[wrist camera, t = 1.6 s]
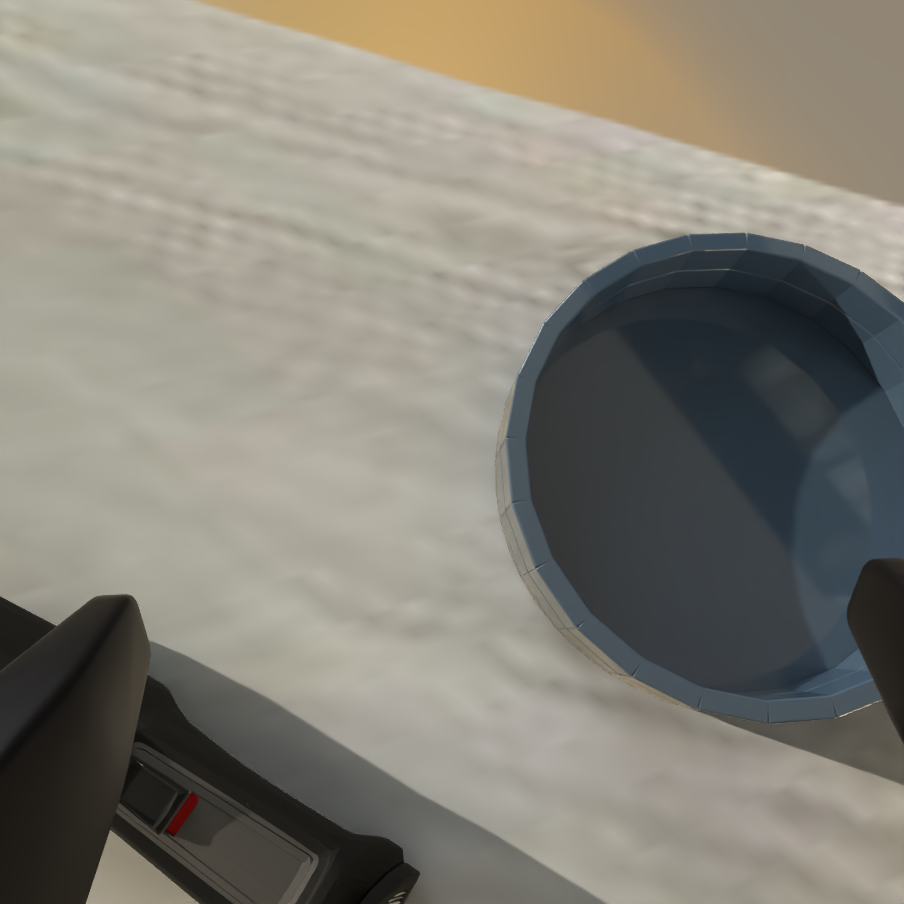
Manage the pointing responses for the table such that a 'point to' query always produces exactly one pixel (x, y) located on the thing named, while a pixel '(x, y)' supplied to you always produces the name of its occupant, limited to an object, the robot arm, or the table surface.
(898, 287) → the table surface
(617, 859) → the table surface
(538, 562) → the bowl
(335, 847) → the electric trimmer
